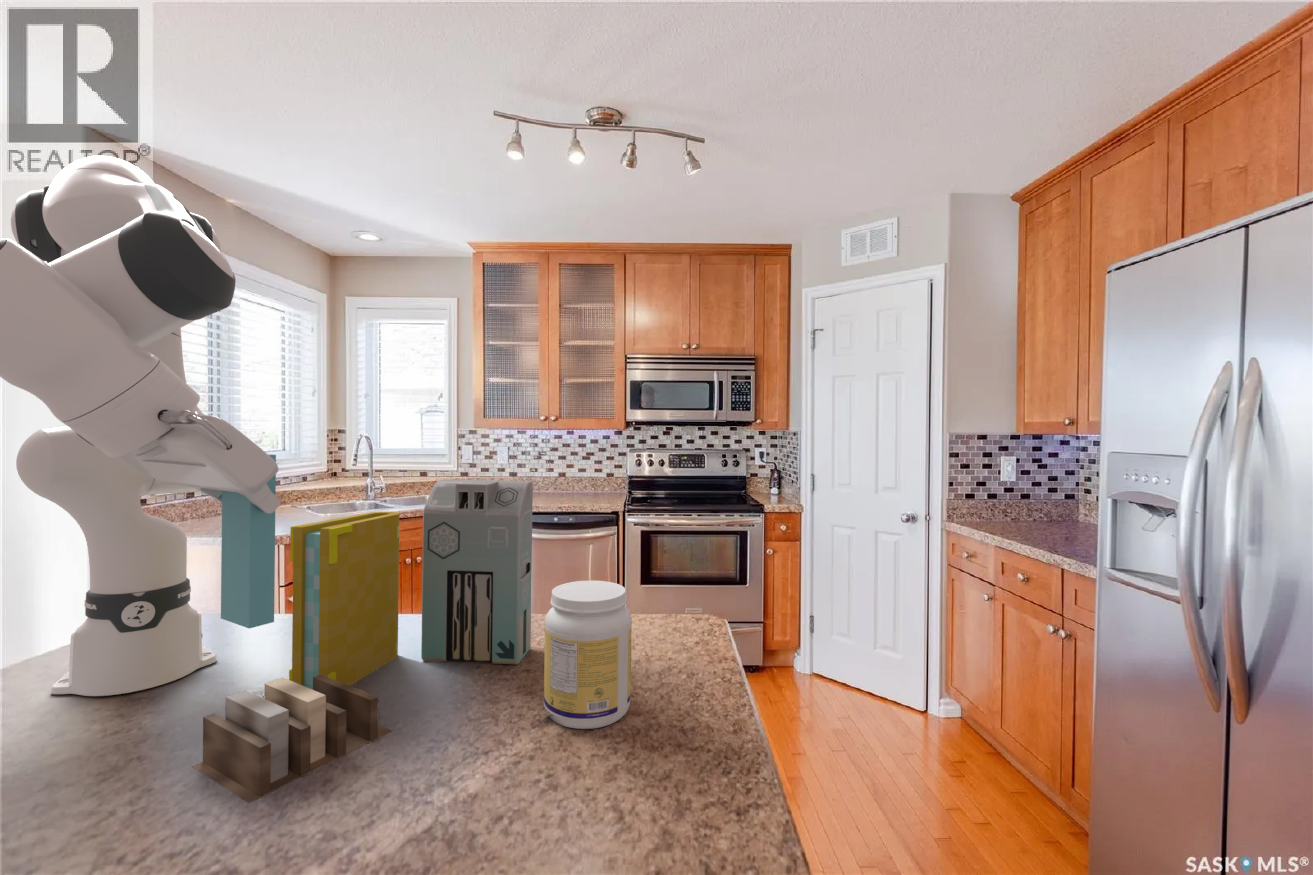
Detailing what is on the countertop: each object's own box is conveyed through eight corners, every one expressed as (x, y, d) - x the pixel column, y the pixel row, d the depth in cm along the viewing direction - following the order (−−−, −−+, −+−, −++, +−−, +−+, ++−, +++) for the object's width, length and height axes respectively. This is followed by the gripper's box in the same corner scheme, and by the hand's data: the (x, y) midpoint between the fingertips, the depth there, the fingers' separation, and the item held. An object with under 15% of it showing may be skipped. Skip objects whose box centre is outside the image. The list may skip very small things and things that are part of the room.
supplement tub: (575, 683, 88) (577, 574, 88) (645, 701, 82) (647, 585, 82) (524, 719, 77) (526, 594, 77) (601, 742, 71) (603, 608, 71)
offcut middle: (263, 742, 67) (264, 683, 67) (282, 734, 69) (282, 677, 69) (307, 765, 63) (307, 702, 63) (325, 756, 65) (325, 695, 65)
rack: (191, 779, 62) (192, 720, 62) (335, 717, 76) (335, 669, 76) (248, 817, 57) (249, 752, 56) (392, 742, 70) (393, 690, 70)
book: (330, 709, 78) (332, 529, 78) (288, 704, 80) (290, 526, 80) (407, 661, 95) (409, 512, 95) (371, 658, 96) (373, 510, 96)
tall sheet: (220, 618, 62) (222, 453, 62) (245, 612, 64) (247, 452, 64) (249, 628, 59) (251, 455, 59) (274, 622, 61) (276, 454, 61)
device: (420, 662, 95) (422, 483, 95) (441, 645, 103) (443, 479, 102) (517, 666, 94) (520, 485, 94) (530, 648, 102) (533, 481, 101)
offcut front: (225, 759, 64) (225, 697, 64) (245, 750, 66) (245, 690, 66) (267, 784, 59) (268, 717, 59) (288, 774, 61) (288, 709, 61)
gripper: (222, 387, 50) (331, 489, 59) (127, 392, 60) (232, 478, 69) (159, 438, 46) (285, 539, 55) (68, 434, 56) (187, 520, 65)
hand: (254, 505), depth 62 cm, fingers closed on tall sheet, 6 cm apart
